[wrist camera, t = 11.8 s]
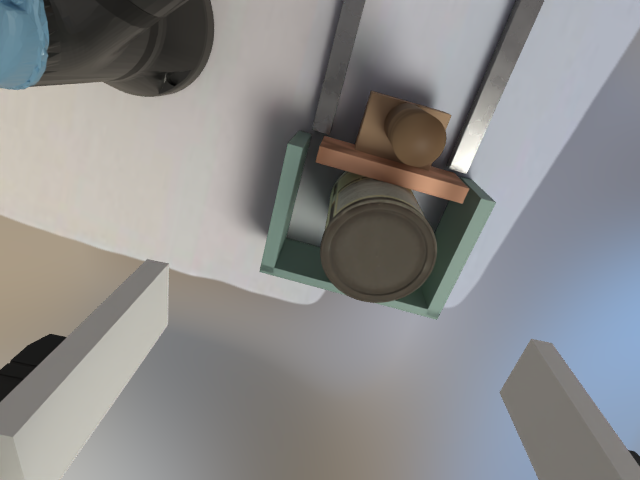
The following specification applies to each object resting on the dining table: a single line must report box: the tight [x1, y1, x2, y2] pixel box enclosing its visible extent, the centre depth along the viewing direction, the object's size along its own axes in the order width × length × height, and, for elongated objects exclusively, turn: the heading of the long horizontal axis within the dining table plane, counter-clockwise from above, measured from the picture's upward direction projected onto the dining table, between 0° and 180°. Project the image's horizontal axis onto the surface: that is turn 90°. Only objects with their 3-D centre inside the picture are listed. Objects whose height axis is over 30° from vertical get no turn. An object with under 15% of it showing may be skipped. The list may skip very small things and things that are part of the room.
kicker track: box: [312, 0, 544, 174], centre depth 37 cm, size 18×23×2 cm
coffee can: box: [320, 171, 437, 303], centre depth 39 cm, size 10×10×14 cm
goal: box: [260, 131, 496, 320], centre depth 42 cm, size 21×15×8 cm
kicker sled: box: [316, 91, 469, 204], centre depth 34 cm, size 15×7×12 cm, turn 75°
